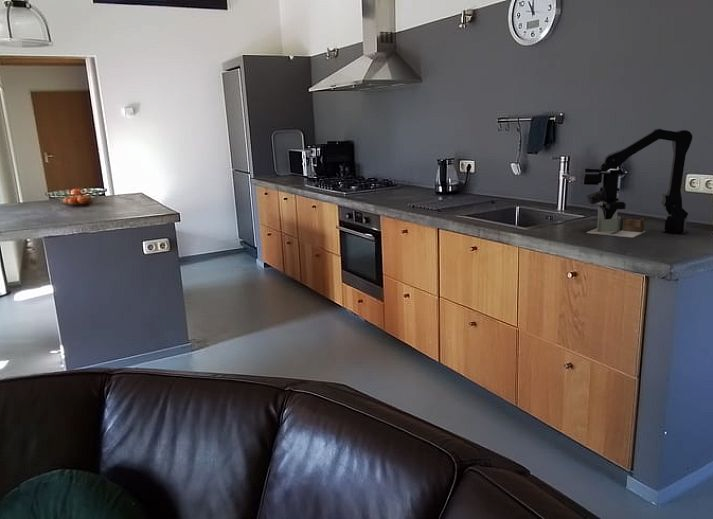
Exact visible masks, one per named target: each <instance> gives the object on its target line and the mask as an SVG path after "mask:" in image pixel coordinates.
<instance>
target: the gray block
mask: <svg viewBox="0 0 713 519" xmlns="http://www.w3.org/2000/svg"><path fill="white" fill-rule="evenodd" d="M619 196H620V195H619V193H617V198H619ZM619 199H620V198H619ZM597 204H598V205H600V202H597ZM598 205H597V221H598V217H601V218H602V219H604V215H603V211H602V209H601V208H600V207H599V206H598ZM618 210H619V209H617V211H616V212H615V213H614V215H613V216H612V218H611V219H617V216H618Z"/></svg>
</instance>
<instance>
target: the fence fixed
mask: <svg viewBox="0 0 713 519" xmlns="http://www.w3.org/2000/svg"><path fill="white" fill-rule="evenodd" d="M620 217H621V216H620ZM644 226H645V218H644V217H641V218H640V220H639V219H631V218H629V219H628V216H623V217H621V219H620V230H623V231H633V232H643V231H645V230H644V228H645V227H644Z"/></svg>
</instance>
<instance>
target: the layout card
mask: <svg viewBox="0 0 713 519" xmlns="http://www.w3.org/2000/svg"><path fill="white" fill-rule="evenodd" d="M644 233H646V230H643V232H633V231H623V230H612V231H597V227H596V228H594V229H592V230H588V231H586V233H585V234H590V235H591V234H592V235H593V234H594V235H602V236H603V235H604V236H610V237H611V236H613V237H621V238H632V239H633V238H635V237H637V236H640V235H641V234H644Z"/></svg>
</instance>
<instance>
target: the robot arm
mask: <svg viewBox="0 0 713 519" xmlns="http://www.w3.org/2000/svg"><path fill="white" fill-rule="evenodd" d="M658 140H665V141H669V142H670V141H671V146H672V152H673V154H672V155H673V156H672V163H671V169H670V171H671V172H670V176H669V183H668V184H669V185H668V190H667V192H666V193H662V200H661V203H660V204H661V205H662V208H663V210H664V211H666V212H667V214H668V216H666V219H665V221H664V233H668V234H680V235H683V234H685V233H687V231H688V230H687V219H688V216H689V213H688V211H686V210H685V209H684V208H683V198H682V192H681V191H682V190H681V189H682V183H683V177H684V169H685V163H686V156H687V153H688V151H689V149H690V146H691V143H692V142H693V141H692V140H693V134H692V133H691V131H689V130H687V129H686V130H684V129H679V130H676V131H673V130H667V129H662V128H654V129H653V130H652V131H651V132H650V133H647V134H646V135H644V136H642V137H641V138H639V139H638V140H636V141H634V142H633V143H631V144H630V145H627V146H626V147H625V148H622V149H619V150H616V151H613V152H611V153H609V154H608V155H606V156H605V157H604V160H603V163H602V164H601V165H600V166H599V167H598V168H590V167H585V168H584V175H583V181H582V184H583V186H599V184H600V183H602V186H600V188H599V190H598V191H595V192H592V193H589V194H587V195H586V198H587V202H588V204H591V205H594V204H598V202H600V205H597V207H598V206H599V207H600V208H601V209H602V211H603V215H604V219H611V218H612V216H613V215H614V213H615V212H616V211H617V209H618V210H625V209H626V206H627V204H626V203H625V202H624V201H622V200H619V199H620V198H617V194H618V192H620V190H621V189H620V188H619V178H620V175H625V172H624V171H623V169H622V168H621V167H620V166H621V165H623V164H624V163H625V162H626V161H627V160H628V159H630V158H631V157H632V156H634V155H635V154H636V153H638V152H640V151H642V150H643V149H645V148H647V147H648V146H650V145H651V144H653V143H655V142H657V141H658ZM617 168H618V169H617ZM602 178H603V179H602Z"/></svg>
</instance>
